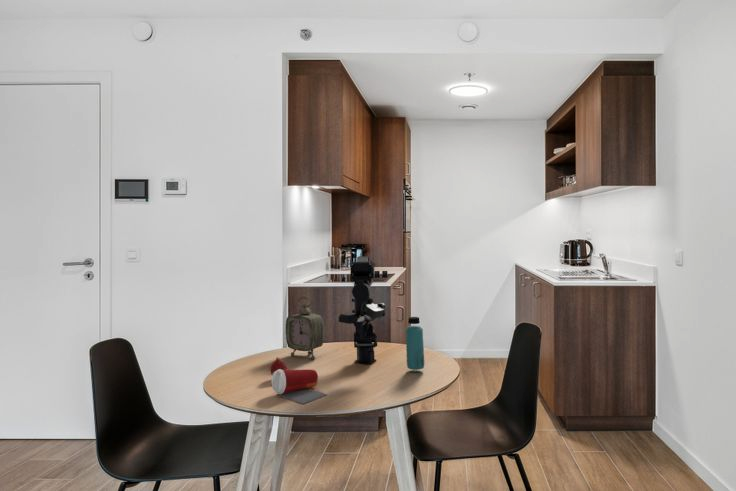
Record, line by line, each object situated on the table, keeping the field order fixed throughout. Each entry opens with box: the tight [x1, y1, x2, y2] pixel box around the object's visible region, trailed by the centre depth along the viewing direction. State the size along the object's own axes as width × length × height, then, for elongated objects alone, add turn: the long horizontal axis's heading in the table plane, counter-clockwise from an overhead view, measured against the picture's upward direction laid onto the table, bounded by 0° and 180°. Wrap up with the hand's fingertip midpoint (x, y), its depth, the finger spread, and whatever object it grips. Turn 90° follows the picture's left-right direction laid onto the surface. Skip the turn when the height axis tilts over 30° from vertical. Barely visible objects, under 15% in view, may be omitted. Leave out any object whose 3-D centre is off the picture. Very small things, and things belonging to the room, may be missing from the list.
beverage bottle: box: [405, 316, 425, 371], centre depth 171 cm, size 6×7×20 cm
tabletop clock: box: [285, 296, 325, 360], centre depth 195 cm, size 14×9×25 cm, turn 58°
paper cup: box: [271, 369, 319, 394], centre depth 153 cm, size 8×8×14 cm
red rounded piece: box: [269, 356, 288, 376], centre depth 166 cm, size 6×6×8 cm
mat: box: [276, 388, 328, 405], centre depth 150 cm, size 13×10×1 cm
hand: (362, 338), depth 169 cm, fingers closed
